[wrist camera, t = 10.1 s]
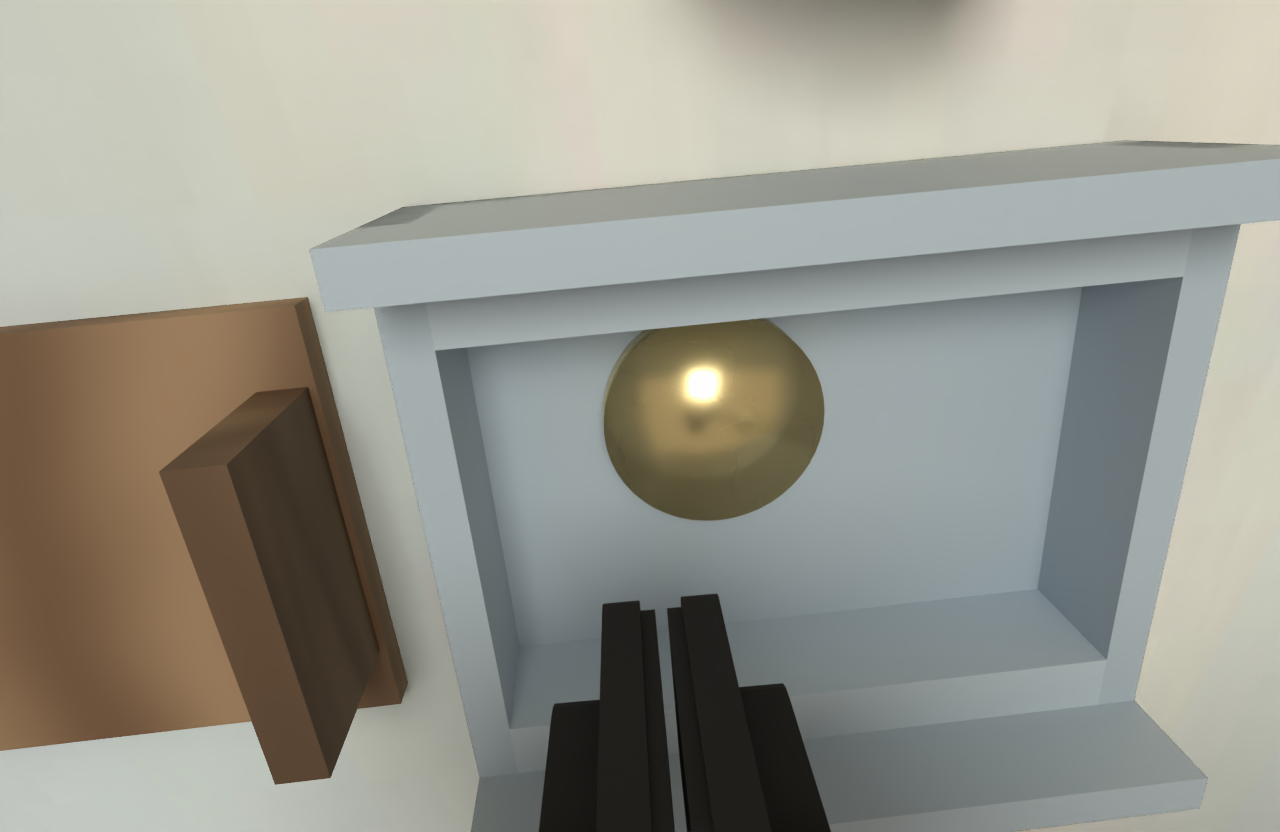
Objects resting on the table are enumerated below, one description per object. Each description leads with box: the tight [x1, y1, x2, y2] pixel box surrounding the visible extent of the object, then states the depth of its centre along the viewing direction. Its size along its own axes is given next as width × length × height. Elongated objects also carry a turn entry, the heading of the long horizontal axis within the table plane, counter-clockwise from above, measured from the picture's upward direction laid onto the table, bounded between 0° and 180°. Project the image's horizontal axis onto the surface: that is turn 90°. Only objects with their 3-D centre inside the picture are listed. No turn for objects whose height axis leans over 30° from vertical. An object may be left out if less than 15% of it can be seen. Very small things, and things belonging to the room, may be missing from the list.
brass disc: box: [603, 318, 825, 521], centre depth 15 cm, size 4×4×1 cm
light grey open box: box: [309, 140, 1280, 832], centre depth 14 cm, size 14×12×5 cm
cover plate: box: [0, 297, 408, 784], centre depth 14 cm, size 12×10×5 cm
